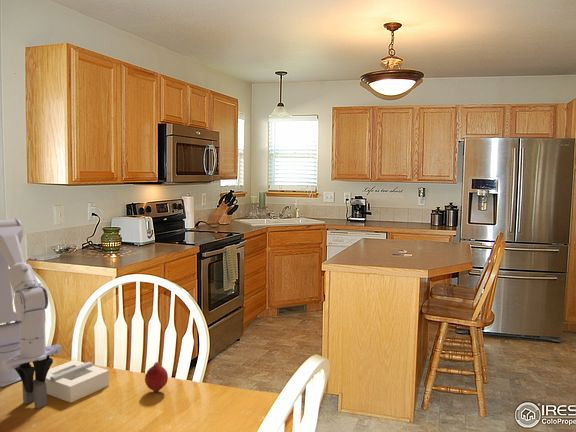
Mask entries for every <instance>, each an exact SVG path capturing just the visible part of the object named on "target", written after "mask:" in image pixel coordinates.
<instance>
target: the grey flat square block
mask: <svg viewBox="0 0 576 432" xmlns="http://www.w3.org/2000/svg"><path fill="white" fill-rule="evenodd" d="M21 382H22V381H21ZM21 387H22V400H23V401H22V403H23V404H25V405H28V404H30V403H33V402H34V408H35V409H41V408H43V407H45V406H47V405H48V394H47V388H46V383H43V382H41V381H38V380H35V378H33V392H32V393H28V392H26V391H25V388H24V385H23V382H22V385H21Z"/></svg>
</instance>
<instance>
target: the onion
mask: <svg viewBox="0 0 576 432" xmlns="http://www.w3.org/2000/svg"><path fill="white" fill-rule="evenodd" d="M168 378H169V374H168V371H167V370H166V368H165V367H163V366H161V365H160V362H159V361H155V362H154V363H153V365H152V366H150V368H148V370H147V371H146V372H145V376H144V382H145V384H146V386H147V388H149V390H151V391H153V392H156V393H158V392H160V391H161V390H162V389H163V388H164V387H165V386H166V385H167V383H168Z"/></svg>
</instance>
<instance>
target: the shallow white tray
mask: <svg viewBox="0 0 576 432" xmlns="http://www.w3.org/2000/svg"><path fill="white" fill-rule="evenodd" d="M109 373H110V372H109V369H105V368H102V367H99V366H95V365H94V362H92V361H86V362H83V361H79V360H76V359H73V360H70V361H67V362H65V363H62V364H60V365H57V366H55V367H50V368H49V370H48V373H47V376H46V379H45V383H46V388H47V395H48V396H52V397H55V398H56V399H60V400H63V401H66V402H68V403H73V402H74V403H75V402H76V401H77V400H80V399H82V398H85V397H87V396H88V395H91V394H93V393H95V392H96V393H97V392H98V391H100V390H102V389H104V388H107V387H108V386H110V377H109V375H110V374H109Z"/></svg>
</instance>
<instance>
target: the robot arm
mask: <svg viewBox="0 0 576 432" xmlns="http://www.w3.org/2000/svg"><path fill="white" fill-rule="evenodd" d="M23 226H24V225H23V224H22V221H21V220H20V219H19V218H13V219H0V387H2V388H3V387H6V386H8V385H11V384H14V383H17V382H19V381H21V382H23V385H24V388H25V391H26V392H28V393H32V392H33V379H35V380H38V381H41V382H43V383H45V379H46V376H47V373H48V370H49V369H51V366H52V364H53V363H54V359H53V358H52V357H50V356H54V355H60V354H61V353H62V345H60V344H53V345H50V346H47V345H46V321H45V320H46V318H45V310H46V309H47V308H48V306H49V295H48V291H47V289H46V287H45V286H44V285H43V284H42V283H41V282H38V279H37V276H36V274H35V272H34V269H33V267H32V265H30V263H26V262H25V258H24V255H23V254H24V253H23V251H22V250H23V249H22V248H21V243H22V240H23V239H22V238H23V236H24V227H23ZM12 291H13V293H14V295H12ZM13 296H14V297H13ZM14 308H15V311H14ZM32 365H33V366H32Z"/></svg>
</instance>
